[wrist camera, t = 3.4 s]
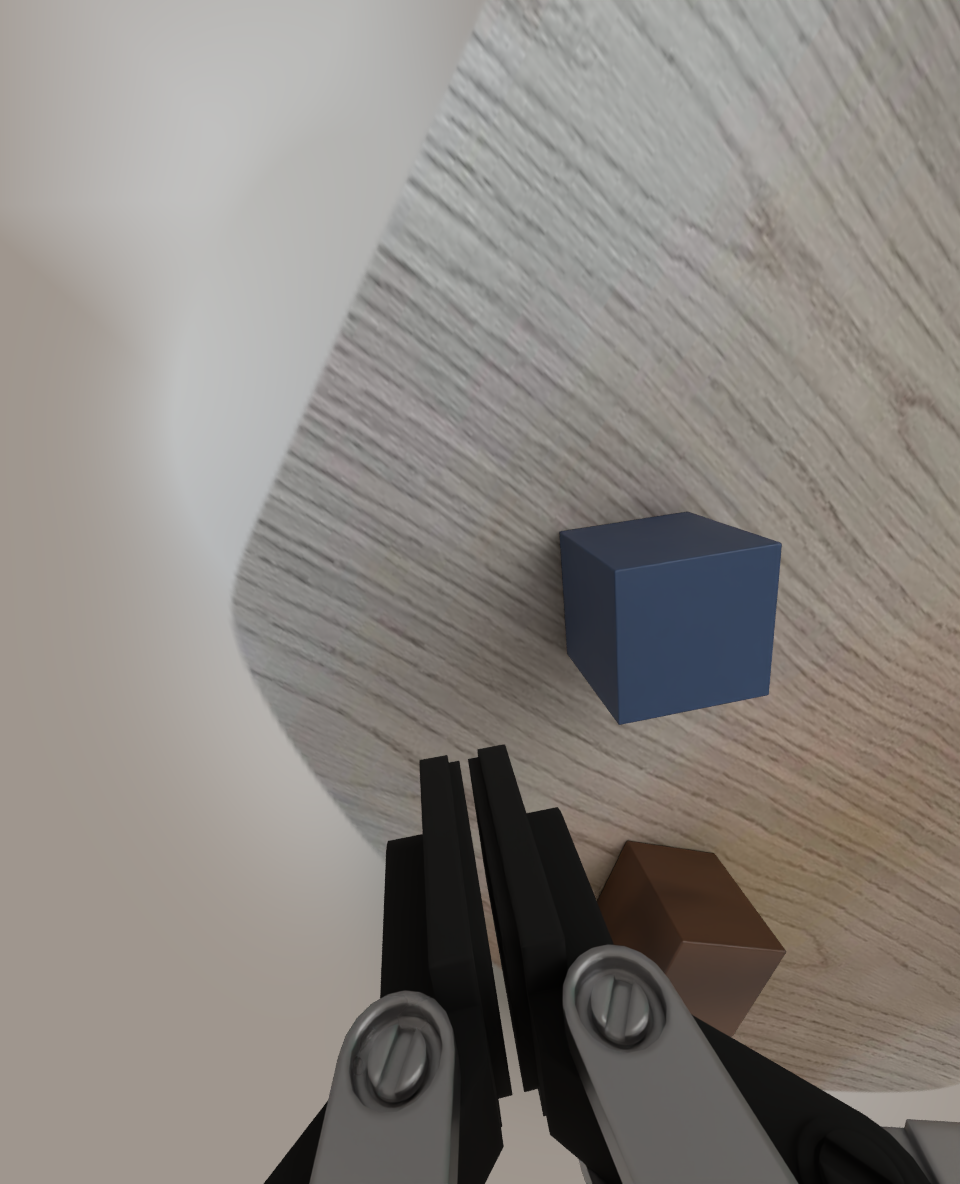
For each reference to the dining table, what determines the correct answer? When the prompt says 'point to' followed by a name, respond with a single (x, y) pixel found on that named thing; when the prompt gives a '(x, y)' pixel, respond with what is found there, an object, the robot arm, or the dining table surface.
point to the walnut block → (692, 929)
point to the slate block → (670, 613)
